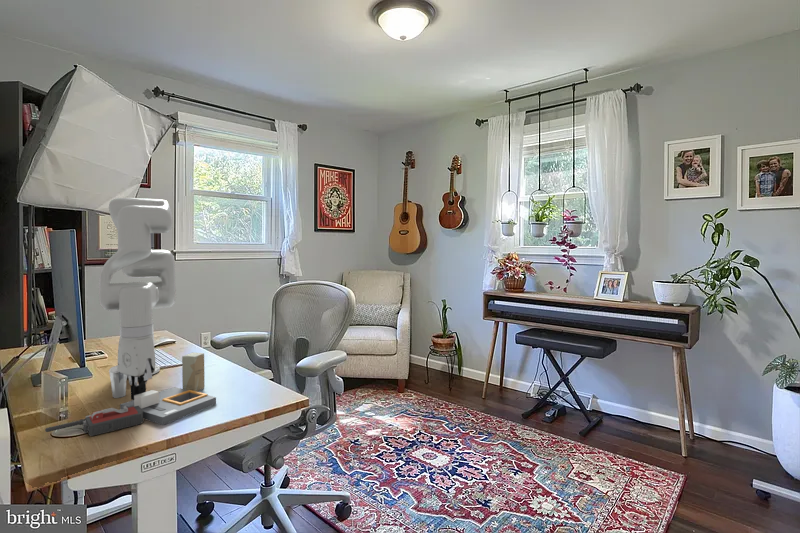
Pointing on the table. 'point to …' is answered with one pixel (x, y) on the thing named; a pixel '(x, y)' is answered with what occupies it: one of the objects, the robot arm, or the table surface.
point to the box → (193, 371)
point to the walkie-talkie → (106, 420)
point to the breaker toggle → (146, 399)
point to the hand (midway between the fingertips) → (138, 398)
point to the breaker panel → (174, 405)
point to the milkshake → (117, 382)
